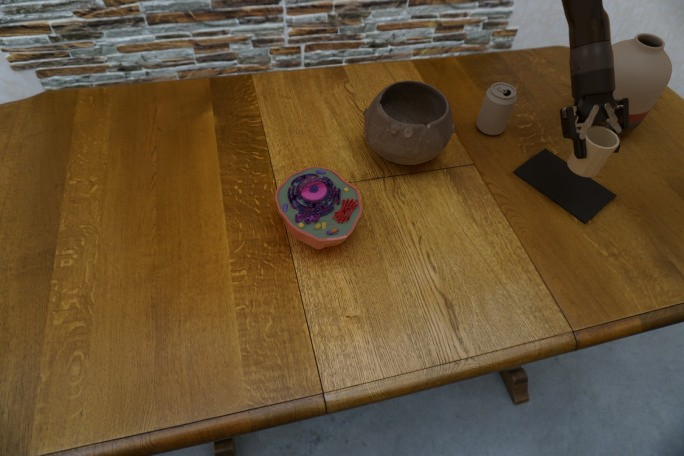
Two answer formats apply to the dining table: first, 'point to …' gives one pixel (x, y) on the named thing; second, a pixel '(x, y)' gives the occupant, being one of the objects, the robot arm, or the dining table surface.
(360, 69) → the dining table surface
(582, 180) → the mat
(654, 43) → the vase
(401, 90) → the clay pot
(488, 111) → the can
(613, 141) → the cup
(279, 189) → the cell model
